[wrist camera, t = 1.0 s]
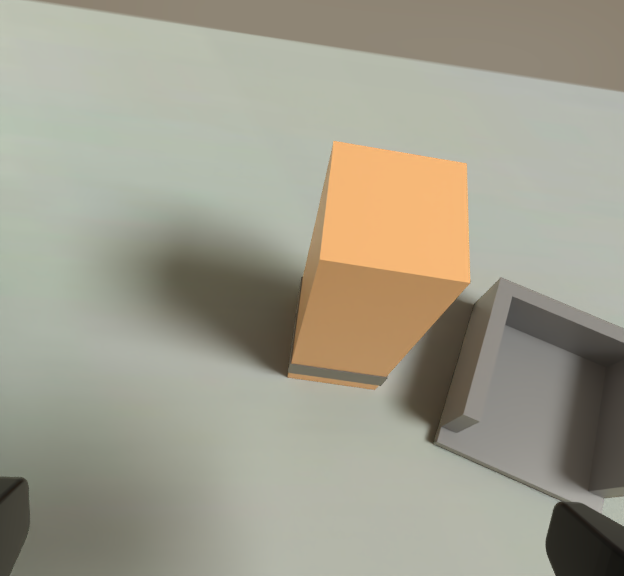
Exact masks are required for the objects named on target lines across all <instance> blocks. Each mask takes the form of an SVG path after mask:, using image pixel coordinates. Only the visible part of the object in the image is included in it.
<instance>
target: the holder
mask: <svg viewBox="0 0 624 576" xmlns="http://www.w3.org/2000/svg"><path fill="white" fill-rule="evenodd" d="M433 444H435V445H437V446H440V447H442V448H444V449H446V450H449V451H451V452H453V453H455V454H458V455H460V456H462V457H464V458H467V459H469V460H471V461H473V462H476V463H478V464H480V465H482V466H485V467H487V468H489V469H491V470H494V471H496V472H498V473H500V474H503V475H505V476H507V477H509V478H512V479H514V480H516V481H518V482H521V483H523V484H525V485H527V486H530V487H532V488H534V489H536V490H539V491H541V492H543V493H545V494H548V495H550V496H552V497H554V498H557V499H559V500H561V501H563V502H580V503H583V504H585V505H587V506H588V507H590V508H592V509H594V510H595V511H597V512H599V513H601V514H602V510H603V503H604V498H612V497H622V496H624V328H622V327H619V326H617V325H614V324H612V323H610V322H607V321H605V320H602V319H600V318H598V317H595V316H593V315H590V314H588V313H586V312H583V311H581V310H578V309H576V308H574V307H571V306H569V305H566V304H564V303H562V302H559V301H557V300H554V299H552V298H550V297H547V296H545V295H542V294H540V293H538V292H535V291H533V290H530V289H528V288H525V287H523V286H521V285H518V284H516V283H513V282H511V281H509V280H506V279H504V278H500V279H499V280H498V281H497V282H496V283H495V284H494V285H493V286H492V287H491V288H490V289H489V290H488V291H487V292H486V293H485V294H484V295H483V296H482V297H481V298H480V299H479V300H478V301H477V302H476V303H475V304H474V307H473V310H472V314H471V317H470V321H469V324H468V327H467V331H466V334H465V338H464V341H463V344H462V348H461V351H460V355H459V358H458V361H457V365H456V368H455V372H454V375H453V378H452V382H451V385H450V389H449V392H448V395H447V399H446V402H445V406H444V409H443V412H442V416H441V419H440V423H439V426H438V429H437V433H436V436H435V440H434V443H433Z"/></svg>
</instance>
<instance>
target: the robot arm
mask: <svg viewBox="0 0 624 576" xmlns="http://www.w3.org/2000/svg"><path fill="white" fill-rule="evenodd" d="M29 525H30V510H29V487H28V482H27V480H26V479H24V478H22V477H0V576H9V575H10V573H11V571H12V569H13V566H14V564H15V562H16V560H17V557H18V555H19V553H20V551H21V548H22V546H23V544H24V542H25V539H26V537H27V534H28V531H29ZM546 552H547V555H548V558H549V561H550V563H551V566H552V568H553V571H554V573H555V575H556V576H624V526H622V525H620V524H618V523H617V522H615V521H613V520H611V519H610V518H608V517H606V516H604V515H603V514H601V513H599V512H597V511H595V510H594V509H592V508H590V507H588V506H587V505H585V504H583V503H580V502H562V501H561V502H559V503H557V504H556V505H555V506H554V509H553V513H552V517H551V521H550V525H549V529H548V533H547V537H546Z"/></svg>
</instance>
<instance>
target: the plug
mask: <svg viewBox="0 0 624 576" xmlns="http://www.w3.org/2000/svg"><path fill="white" fill-rule="evenodd" d="M469 284H470V260H469V227H468V194H467V163H461V162H455V161H449V160H443V159H437V158H431V157H425V156H419V155H413V154H408V153H402V152H396V151H390V150H384V149H378V148H372V147H366V146H360V145H354V144H348V143H343V142H337V141H334V142H333V146H332V151H331V155H330V160H329V164H328V168H327V173H326V177H325V182H324V186H323V191H322V195H321V199H320V204H319V208H318V213H317V217H316V222H315V226H314V230H313V235H312V239H311V244H310V248H309V253H308V257H307V261H306V266H305V270H304V275H303V277H302V278H301V283H300V287H299V294H298V301H297V308H296V316H295V323H294V330H293V338H292V345H291V353H290V360H289V367H288V378H295V379H302V380H309V381H316V382H323V383H330V384H338V385H345V386H352V387H359V388H366V389H373V390H375V389H376V388H377V387H378V386H381V385H382V384H383V383H384V381H385V380H386V379H387V376H388V374H389V373H390V372H391V371H392V370H393V369H394V368H395V367H396V366H397V364H398V363H399V362H400V361H401V360H402V359H403V358H404V357H405V355H406V354H407V353H408V352H409V351H410V350H411V349H412V348H413V346H414V345H415V344H416V343H417V342H418V341H419V340H420V339H421V338H422V336H423V335H424V334H425V333H426V332H427V331H428V330H429V329H430V327H431V326H432V325H433V324H434V323H435V322H436V321H437V320H438V318H439V317H440V316H441V315H442V314H443V313H444V312H445V311H446V309H447V308H448V307H449V306H450V305H451V304H452V303H453V302H454V301H455V299H456V298H457V297H458V296H459V295H460V294H461V293H462V292H463V290H464V289H465V288H466V287H467V286H468V285H469Z"/></svg>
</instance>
